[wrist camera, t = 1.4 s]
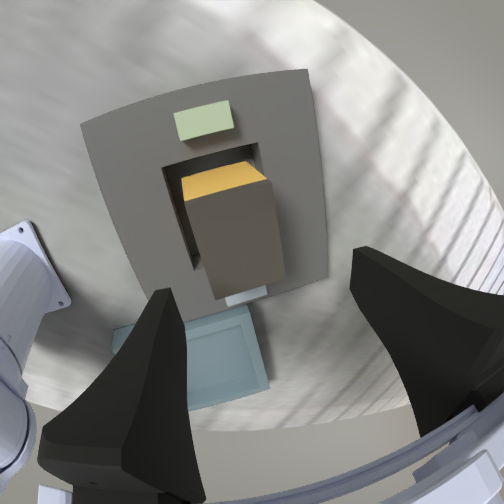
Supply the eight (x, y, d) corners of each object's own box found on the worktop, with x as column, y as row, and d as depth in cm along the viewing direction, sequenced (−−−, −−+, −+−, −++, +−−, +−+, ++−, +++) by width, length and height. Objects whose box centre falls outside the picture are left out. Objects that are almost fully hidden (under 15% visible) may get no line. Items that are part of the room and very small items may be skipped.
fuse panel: (162, 312, 23) (163, 338, 20) (89, 122, 15) (73, 125, 12) (317, 264, 25) (334, 284, 22) (295, 71, 17) (316, 67, 14)
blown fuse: (201, 241, 21) (215, 300, 15) (180, 171, 18) (184, 205, 12) (252, 226, 22) (286, 278, 16) (238, 155, 19) (271, 182, 13)
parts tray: (164, 398, 29) (166, 415, 27) (113, 329, 23) (111, 350, 21) (263, 371, 31) (270, 388, 28) (242, 293, 24) (249, 312, 22)
